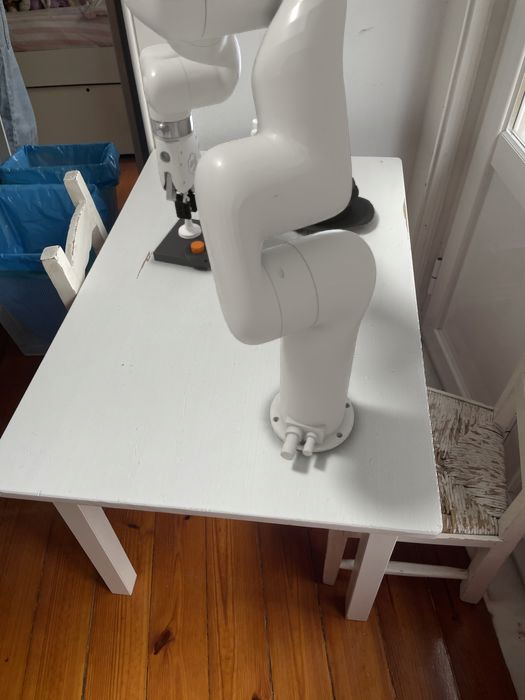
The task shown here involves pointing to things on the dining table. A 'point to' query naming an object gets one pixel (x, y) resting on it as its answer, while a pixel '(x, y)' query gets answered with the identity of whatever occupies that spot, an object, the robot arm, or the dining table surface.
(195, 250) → the button
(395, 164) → the dining table surface
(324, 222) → the casserole
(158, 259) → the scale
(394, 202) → the dining table surface
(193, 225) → the chess piece
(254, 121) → the figurine
